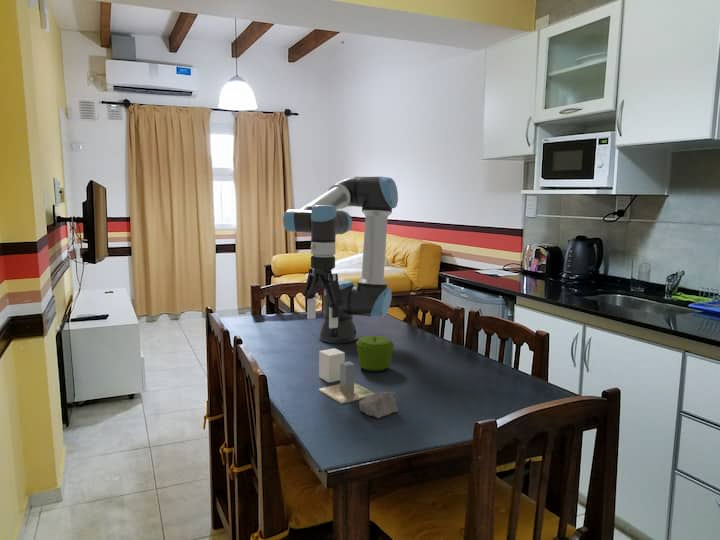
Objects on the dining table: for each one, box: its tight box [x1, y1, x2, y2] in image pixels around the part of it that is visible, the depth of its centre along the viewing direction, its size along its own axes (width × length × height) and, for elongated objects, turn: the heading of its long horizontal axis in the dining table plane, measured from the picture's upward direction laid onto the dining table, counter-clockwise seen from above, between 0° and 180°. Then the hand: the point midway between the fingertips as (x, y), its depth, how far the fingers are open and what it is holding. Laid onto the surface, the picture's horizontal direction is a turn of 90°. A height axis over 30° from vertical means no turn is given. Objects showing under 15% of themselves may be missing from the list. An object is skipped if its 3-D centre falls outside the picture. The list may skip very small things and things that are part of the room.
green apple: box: [355, 335, 395, 372], centre depth 177 cm, size 12×12×11 cm
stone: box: [358, 391, 399, 419], centre depth 143 cm, size 8×10×6 cm
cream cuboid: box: [318, 347, 346, 383], centre depth 168 cm, size 6×6×9 cm
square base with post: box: [318, 361, 375, 405], centre depth 155 cm, size 12×12×9 cm
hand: (322, 323), depth 166 cm, fingers open, 13 cm apart
